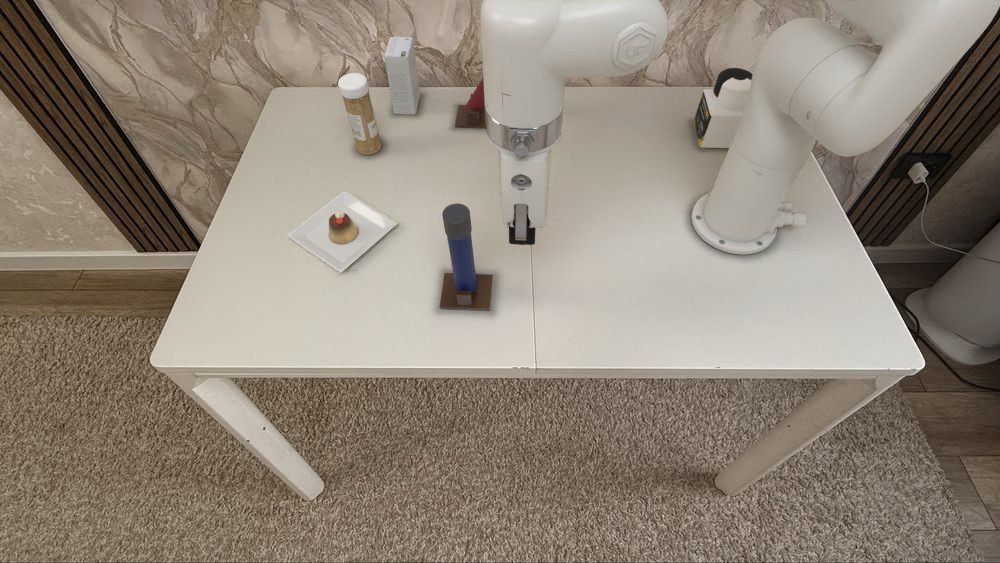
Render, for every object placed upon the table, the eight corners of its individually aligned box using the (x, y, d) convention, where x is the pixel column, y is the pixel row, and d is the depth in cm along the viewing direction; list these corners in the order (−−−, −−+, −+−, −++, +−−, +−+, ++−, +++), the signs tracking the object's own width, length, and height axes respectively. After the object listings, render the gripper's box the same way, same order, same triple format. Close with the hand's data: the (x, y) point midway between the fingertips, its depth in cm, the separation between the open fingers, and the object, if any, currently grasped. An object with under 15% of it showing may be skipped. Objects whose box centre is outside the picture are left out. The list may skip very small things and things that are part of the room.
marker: (478, 277, 79) (471, 203, 67) (476, 296, 77) (468, 224, 65) (455, 276, 79) (443, 202, 67) (453, 295, 77) (440, 223, 65)
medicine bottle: (692, 122, 101) (712, 62, 91) (732, 122, 101) (756, 62, 91) (699, 148, 97) (720, 88, 87) (740, 149, 96) (767, 89, 87)
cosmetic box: (398, 94, 106) (387, 35, 97) (422, 95, 106) (413, 35, 96) (393, 115, 103) (381, 55, 93) (417, 116, 103) (408, 56, 93)
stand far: (495, 107, 104) (495, 93, 101) (493, 128, 100) (493, 114, 98) (458, 106, 104) (457, 92, 102) (455, 127, 101) (453, 113, 98)
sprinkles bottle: (386, 149, 97) (371, 82, 86) (363, 159, 96) (344, 92, 85) (375, 135, 100) (359, 68, 89) (352, 145, 98) (332, 77, 87)
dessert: (342, 277, 81) (334, 257, 77) (288, 239, 86) (277, 218, 82) (399, 227, 87) (394, 206, 83) (345, 194, 91) (338, 173, 87)
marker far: (481, 108, 103) (523, 43, 92) (479, 119, 101) (523, 55, 90) (465, 100, 101) (506, 33, 90) (463, 111, 99) (505, 45, 89)
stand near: (492, 276, 81) (492, 263, 78) (489, 311, 78) (489, 298, 75) (444, 274, 81) (442, 261, 79) (439, 309, 78) (437, 296, 75)
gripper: (562, 174, 50) (551, 290, 65) (562, 74, 59) (552, 197, 74) (479, 171, 50) (487, 287, 65) (491, 73, 59) (496, 195, 74)
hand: (522, 239), depth 69 cm, fingers closed
